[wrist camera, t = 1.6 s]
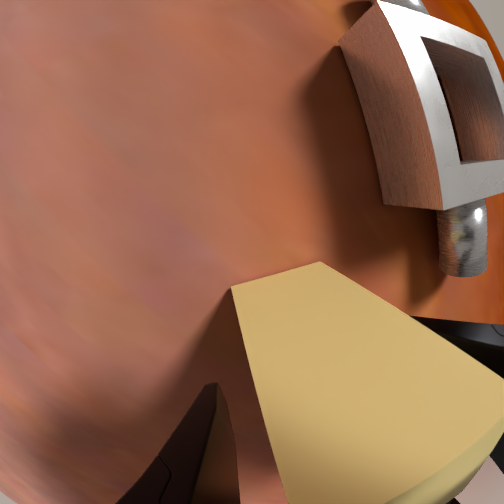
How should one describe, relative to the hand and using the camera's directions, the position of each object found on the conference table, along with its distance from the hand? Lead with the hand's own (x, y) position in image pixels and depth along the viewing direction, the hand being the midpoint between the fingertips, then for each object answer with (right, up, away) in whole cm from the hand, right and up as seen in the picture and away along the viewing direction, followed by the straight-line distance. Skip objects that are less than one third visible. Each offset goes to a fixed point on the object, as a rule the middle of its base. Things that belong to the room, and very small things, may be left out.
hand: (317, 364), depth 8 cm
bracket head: (+7, +11, +3) cm, 13 cm away
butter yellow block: (-1, +1, +4) cm, 4 cm away
